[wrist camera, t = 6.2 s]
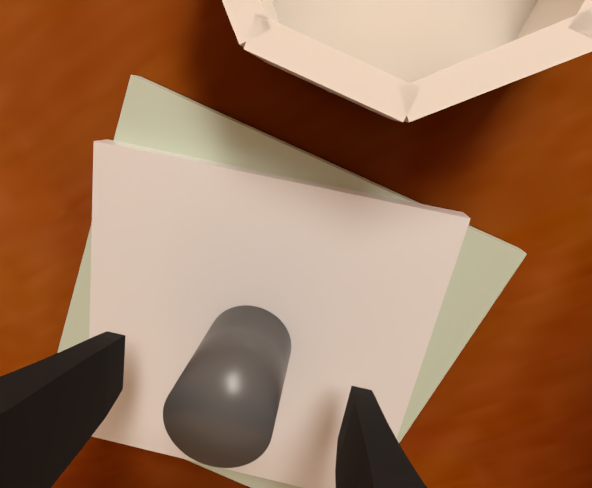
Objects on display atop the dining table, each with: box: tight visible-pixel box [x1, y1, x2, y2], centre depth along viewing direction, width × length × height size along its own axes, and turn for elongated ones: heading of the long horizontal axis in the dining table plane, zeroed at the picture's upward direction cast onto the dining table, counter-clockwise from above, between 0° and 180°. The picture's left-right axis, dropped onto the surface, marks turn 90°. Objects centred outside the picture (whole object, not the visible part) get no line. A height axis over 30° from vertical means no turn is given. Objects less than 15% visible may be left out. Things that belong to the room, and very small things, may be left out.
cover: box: [89, 139, 470, 488], centre depth 13 cm, size 12×12×5 cm
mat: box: [58, 75, 527, 488], centre depth 16 cm, size 14×14×1 cm
